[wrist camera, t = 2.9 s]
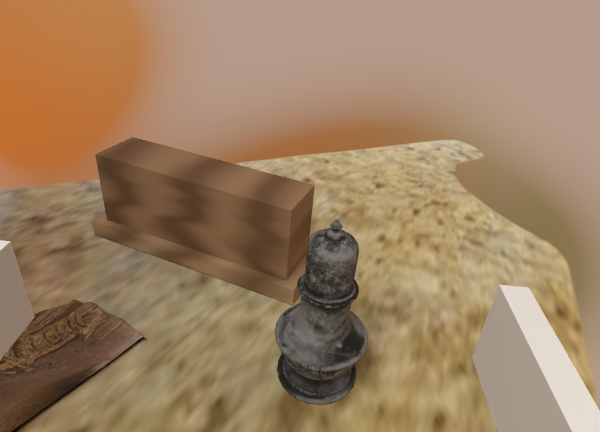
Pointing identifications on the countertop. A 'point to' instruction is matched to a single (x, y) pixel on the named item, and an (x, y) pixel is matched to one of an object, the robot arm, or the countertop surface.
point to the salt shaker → (323, 322)
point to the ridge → (207, 215)
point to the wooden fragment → (57, 357)
